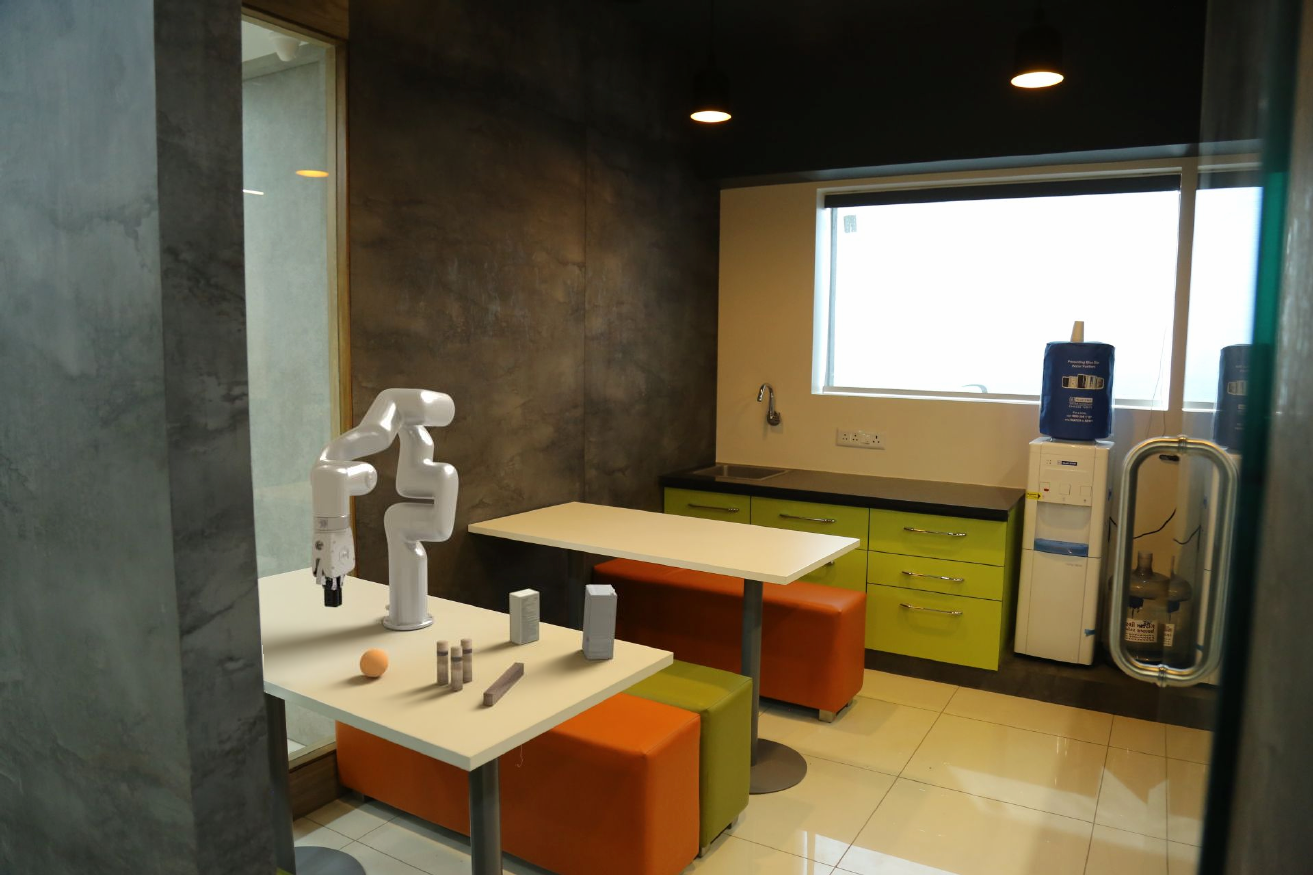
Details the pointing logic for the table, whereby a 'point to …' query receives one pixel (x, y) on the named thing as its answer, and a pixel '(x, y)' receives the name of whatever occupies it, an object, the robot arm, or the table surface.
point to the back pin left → (467, 659)
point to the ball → (374, 663)
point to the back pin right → (456, 668)
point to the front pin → (442, 662)
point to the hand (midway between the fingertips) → (333, 605)
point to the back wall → (503, 684)
